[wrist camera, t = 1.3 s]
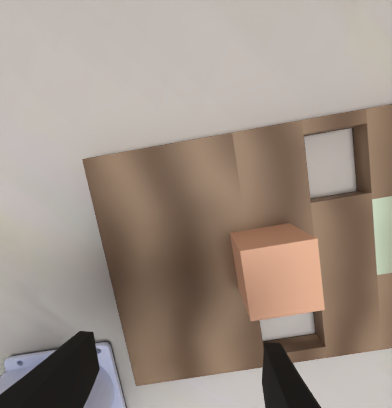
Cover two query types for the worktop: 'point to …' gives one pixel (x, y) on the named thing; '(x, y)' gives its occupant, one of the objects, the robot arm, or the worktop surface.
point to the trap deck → (222, 247)
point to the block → (278, 271)
